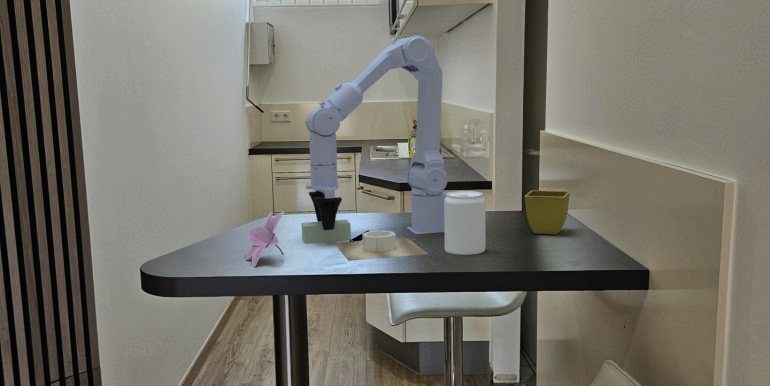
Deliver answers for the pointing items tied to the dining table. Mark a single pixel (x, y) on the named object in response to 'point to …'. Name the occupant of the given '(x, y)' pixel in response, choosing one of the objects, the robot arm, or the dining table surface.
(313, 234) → the green rectangular block
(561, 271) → the dining table surface
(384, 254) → the mat
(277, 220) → the lily
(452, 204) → the beverage can
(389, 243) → the white octagonal prism
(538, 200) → the flower pot
